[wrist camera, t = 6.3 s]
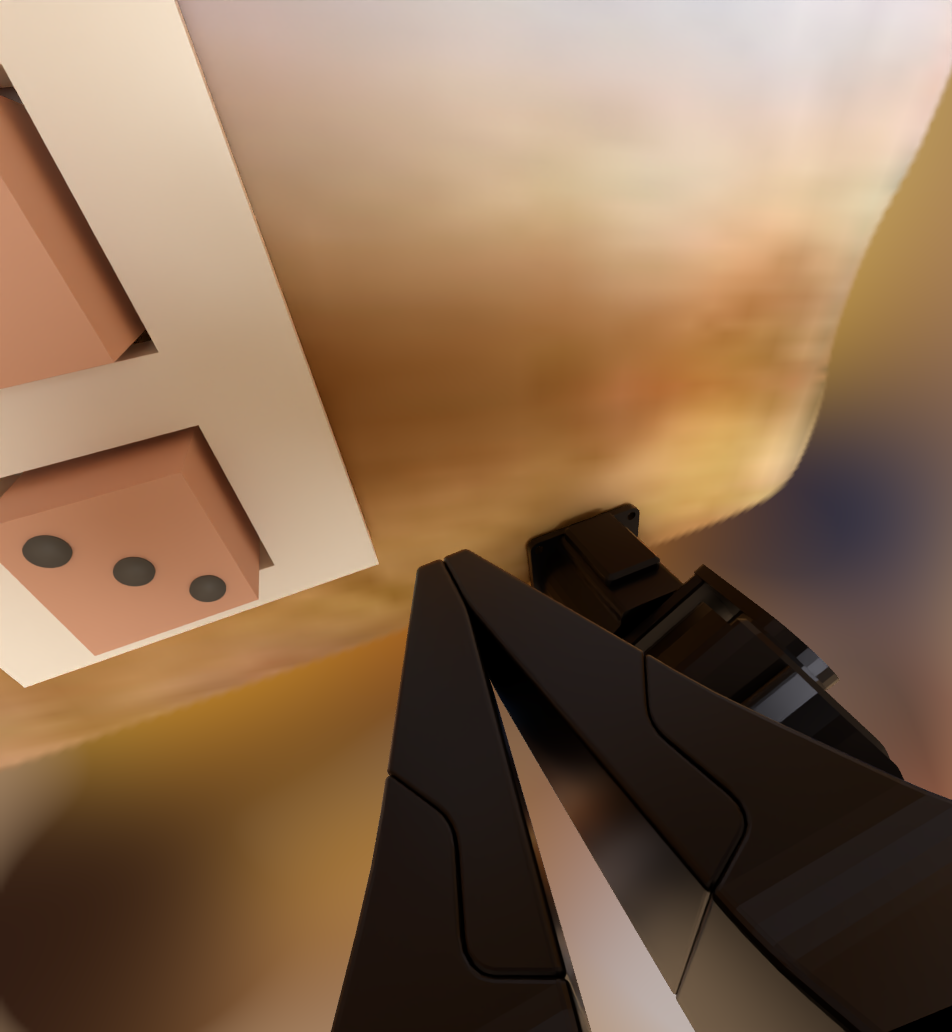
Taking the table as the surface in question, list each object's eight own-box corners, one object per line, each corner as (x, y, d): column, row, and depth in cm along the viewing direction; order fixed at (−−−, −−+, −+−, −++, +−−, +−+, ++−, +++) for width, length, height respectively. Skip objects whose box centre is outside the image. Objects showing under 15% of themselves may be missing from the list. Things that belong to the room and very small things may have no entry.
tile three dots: (259, 533, 19) (258, 601, 16) (125, 576, 18) (94, 658, 15) (197, 418, 16) (180, 473, 13) (32, 462, 15) (-33, 534, 12)
